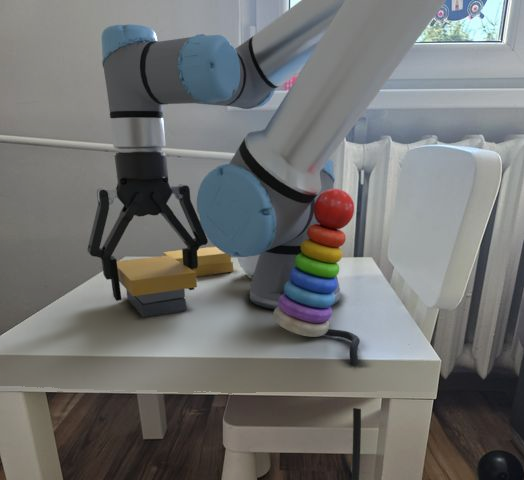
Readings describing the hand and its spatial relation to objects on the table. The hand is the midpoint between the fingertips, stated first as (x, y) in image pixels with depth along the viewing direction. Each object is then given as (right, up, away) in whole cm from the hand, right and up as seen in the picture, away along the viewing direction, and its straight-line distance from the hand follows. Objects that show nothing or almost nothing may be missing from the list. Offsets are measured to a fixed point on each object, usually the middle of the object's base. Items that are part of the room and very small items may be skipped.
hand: (154, 293), depth 82 cm
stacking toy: (+23, -6, -13) cm, 27 cm away
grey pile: (0, -2, +1) cm, 2 cm away
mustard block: (0, +2, -1) cm, 2 cm away
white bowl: (+18, +5, +17) cm, 25 cm away
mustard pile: (+5, +7, +21) cm, 23 cm away
